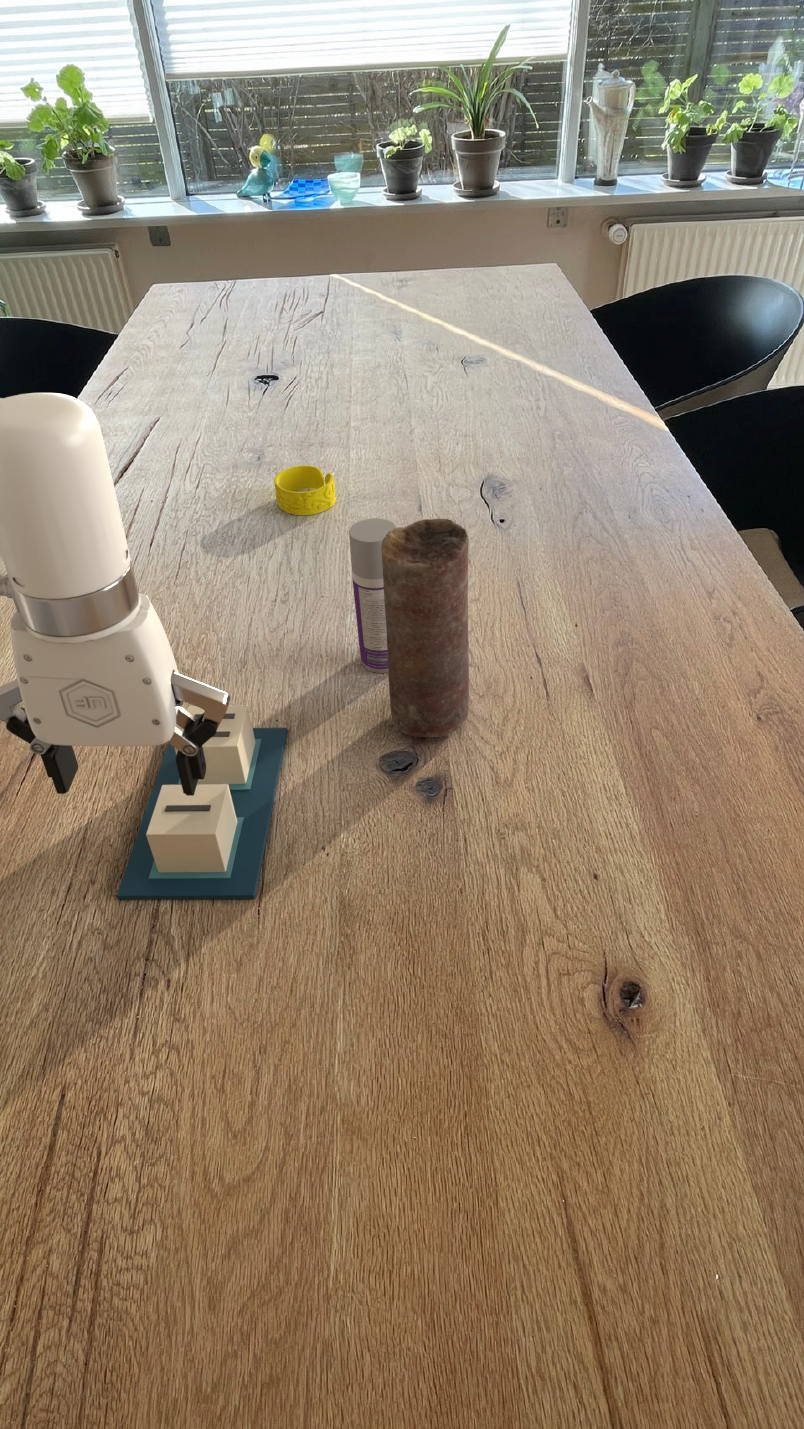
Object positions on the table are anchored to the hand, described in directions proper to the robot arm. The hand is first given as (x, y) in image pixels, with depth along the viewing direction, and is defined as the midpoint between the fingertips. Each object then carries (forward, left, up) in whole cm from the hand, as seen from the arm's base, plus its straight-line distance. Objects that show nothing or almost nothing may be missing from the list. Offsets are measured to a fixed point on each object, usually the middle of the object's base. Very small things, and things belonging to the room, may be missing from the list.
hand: (130, 781), depth 73 cm
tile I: (+4, +1, -8) cm, 9 cm away
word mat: (+3, +6, -9) cm, 11 cm away
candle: (+22, +17, -9) cm, 29 cm away
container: (+17, +27, -9) cm, 33 cm away
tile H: (+4, +11, -8) cm, 14 cm away
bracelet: (+5, +62, -9) cm, 63 cm away
